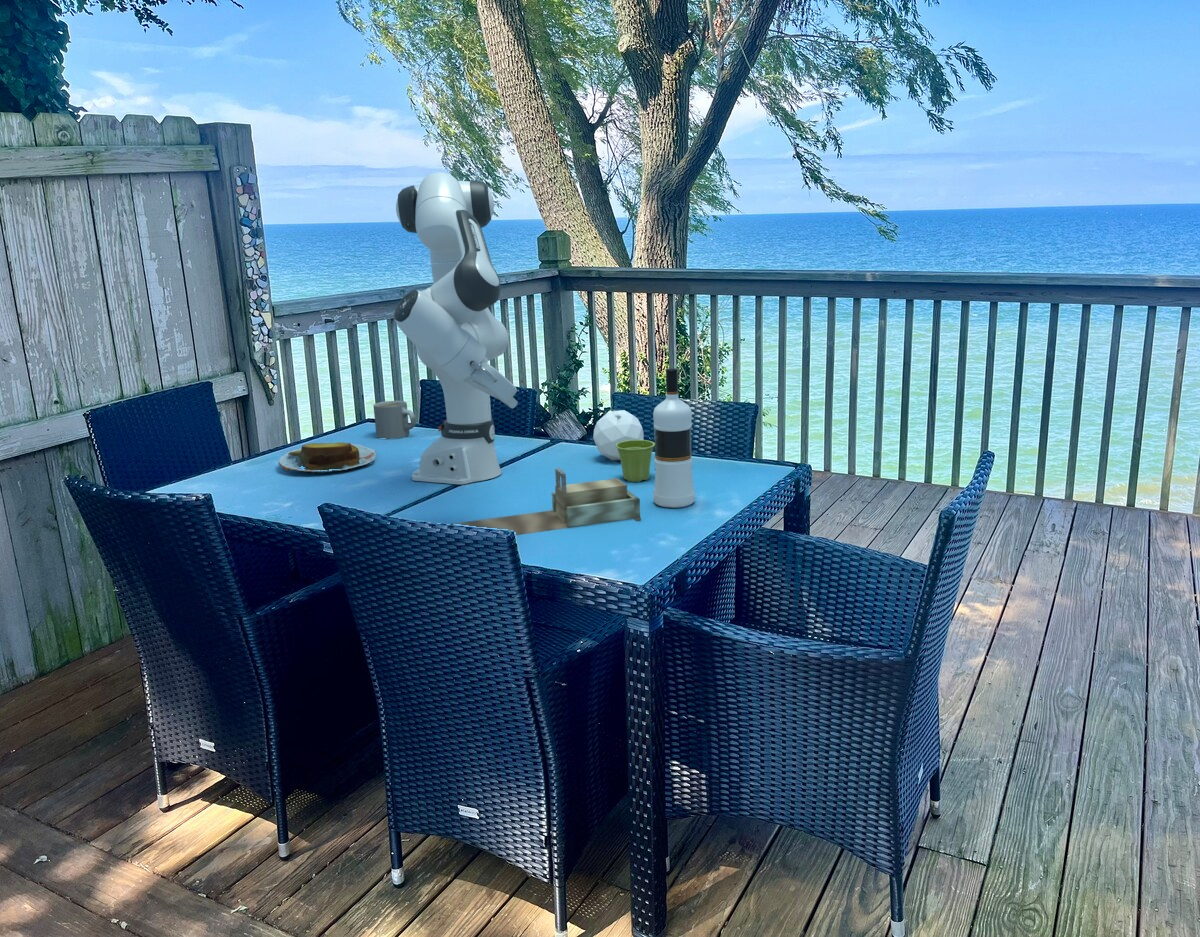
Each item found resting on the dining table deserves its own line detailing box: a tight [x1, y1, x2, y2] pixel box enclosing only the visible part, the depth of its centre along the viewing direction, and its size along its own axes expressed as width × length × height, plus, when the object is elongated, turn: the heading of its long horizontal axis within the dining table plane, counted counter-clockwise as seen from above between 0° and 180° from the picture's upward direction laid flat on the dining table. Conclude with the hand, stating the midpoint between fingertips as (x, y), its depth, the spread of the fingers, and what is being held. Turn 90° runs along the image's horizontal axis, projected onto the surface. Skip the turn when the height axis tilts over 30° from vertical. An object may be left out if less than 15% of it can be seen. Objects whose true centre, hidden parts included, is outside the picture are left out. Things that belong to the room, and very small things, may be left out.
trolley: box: [554, 467, 628, 523], centre depth 196 cm, size 14×8×10 cm, turn 108°
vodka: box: [652, 367, 696, 509], centre depth 202 cm, size 9×9×30 cm
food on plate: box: [277, 442, 377, 473], centre depth 251 cm, size 26×26×7 cm
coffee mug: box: [372, 400, 416, 440], centre depth 282 cm, size 13×10×10 cm
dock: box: [453, 489, 642, 536], centre depth 194 cm, size 38×13×5 cm, turn 109°
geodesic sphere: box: [592, 409, 645, 462], centre depth 243 cm, size 14×14×14 cm
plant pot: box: [616, 439, 655, 483], centre depth 225 cm, size 9×9×9 cm
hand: (513, 404), depth 188 cm, fingers closed
